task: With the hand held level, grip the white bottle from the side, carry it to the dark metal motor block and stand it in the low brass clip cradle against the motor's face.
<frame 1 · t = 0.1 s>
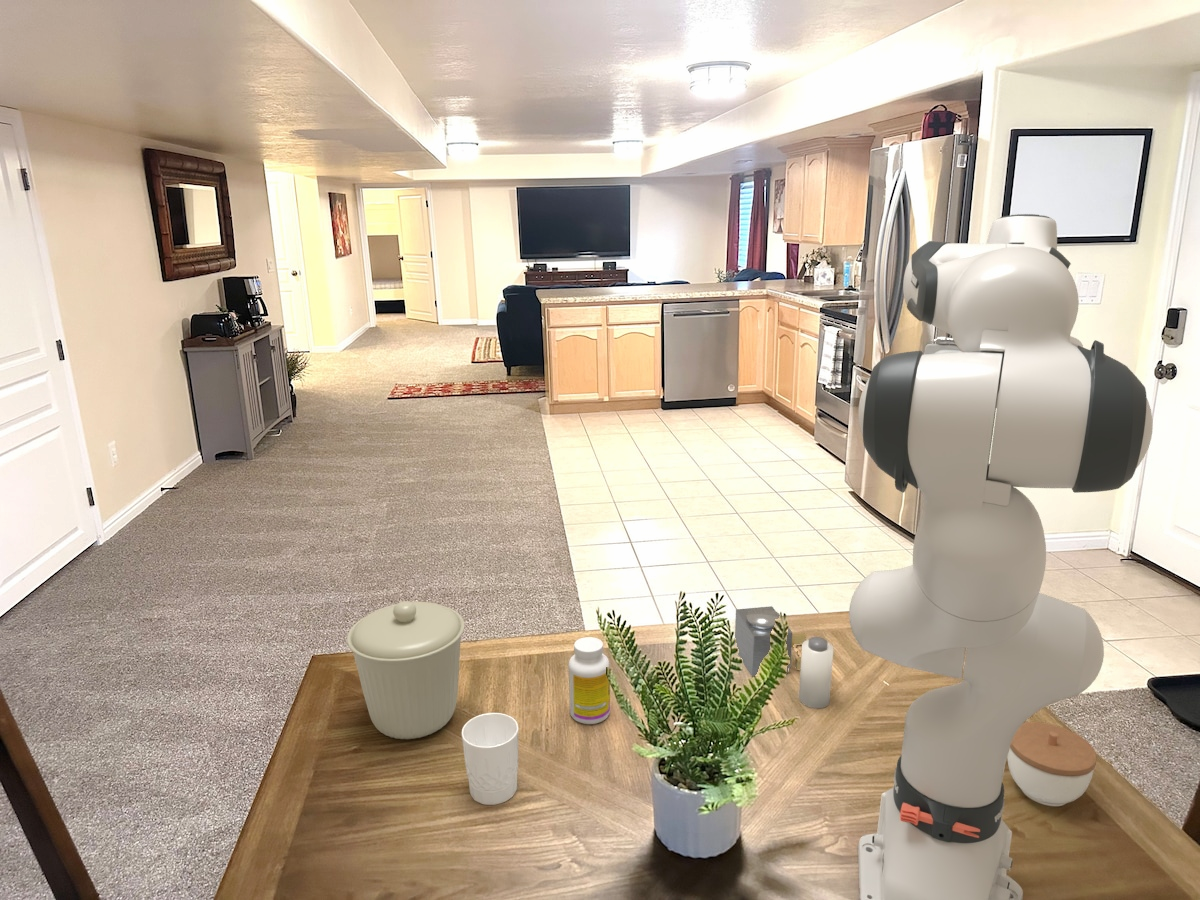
hand: (994, 438, 112), 48 cm above the table, tool pointing down, fingers open, 8 cm apart
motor: (777, 658, 147), on the table
white cup: (493, 790, 115), on the table
supplement bottle: (590, 714, 132), on the table
canister: (414, 720, 131), on the table
lidded jar: (1043, 792, 113), on the table
white bottle: (813, 699, 135), on the table
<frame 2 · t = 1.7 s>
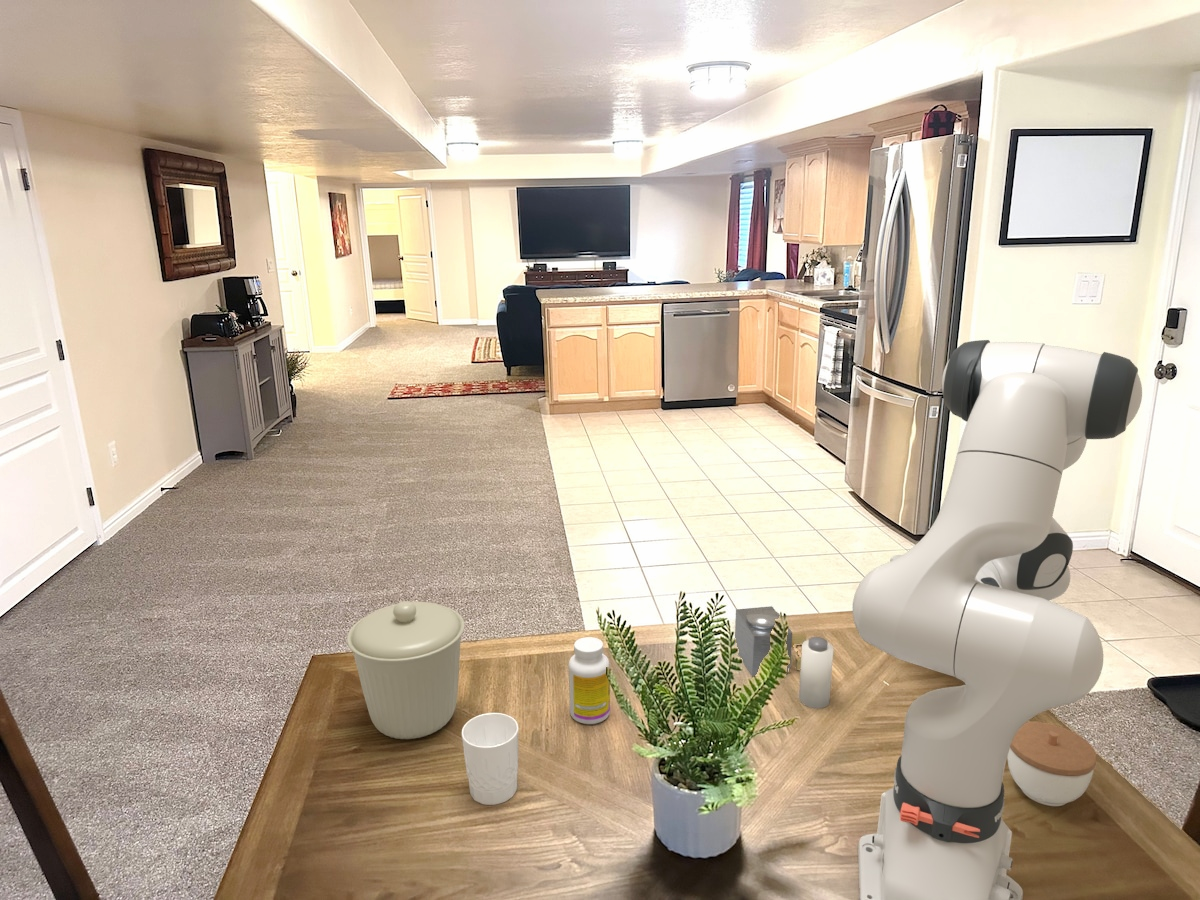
hand: (891, 593, 131), 19 cm above the table, tool horizontal, fingers open, 8 cm apart
nothing on the table moved.
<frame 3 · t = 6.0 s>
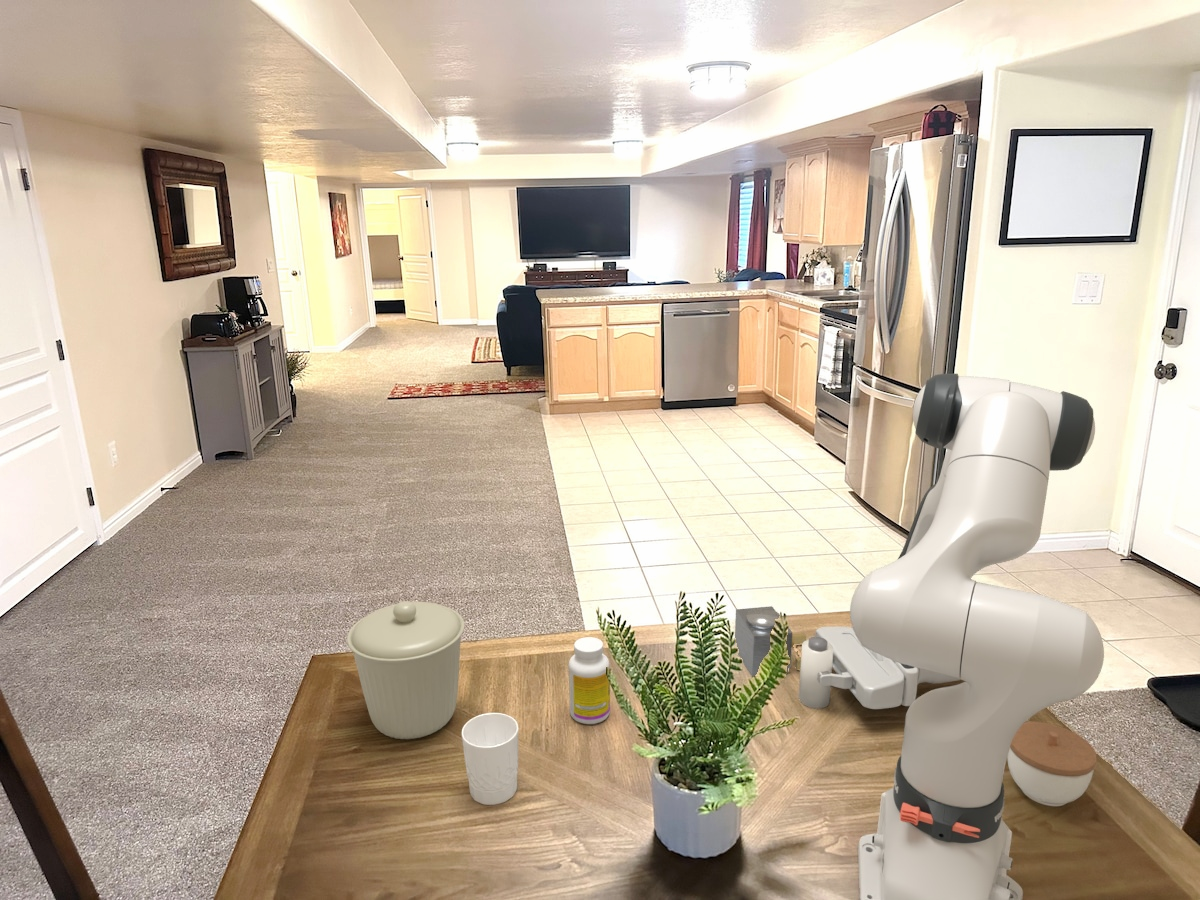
hand: (811, 668, 133), 6 cm above the table, tool horizontal, fingers closed on white bottle, 5 cm apart
white bottle: (813, 699, 135), on the table, touching gripper
everything else where it was.
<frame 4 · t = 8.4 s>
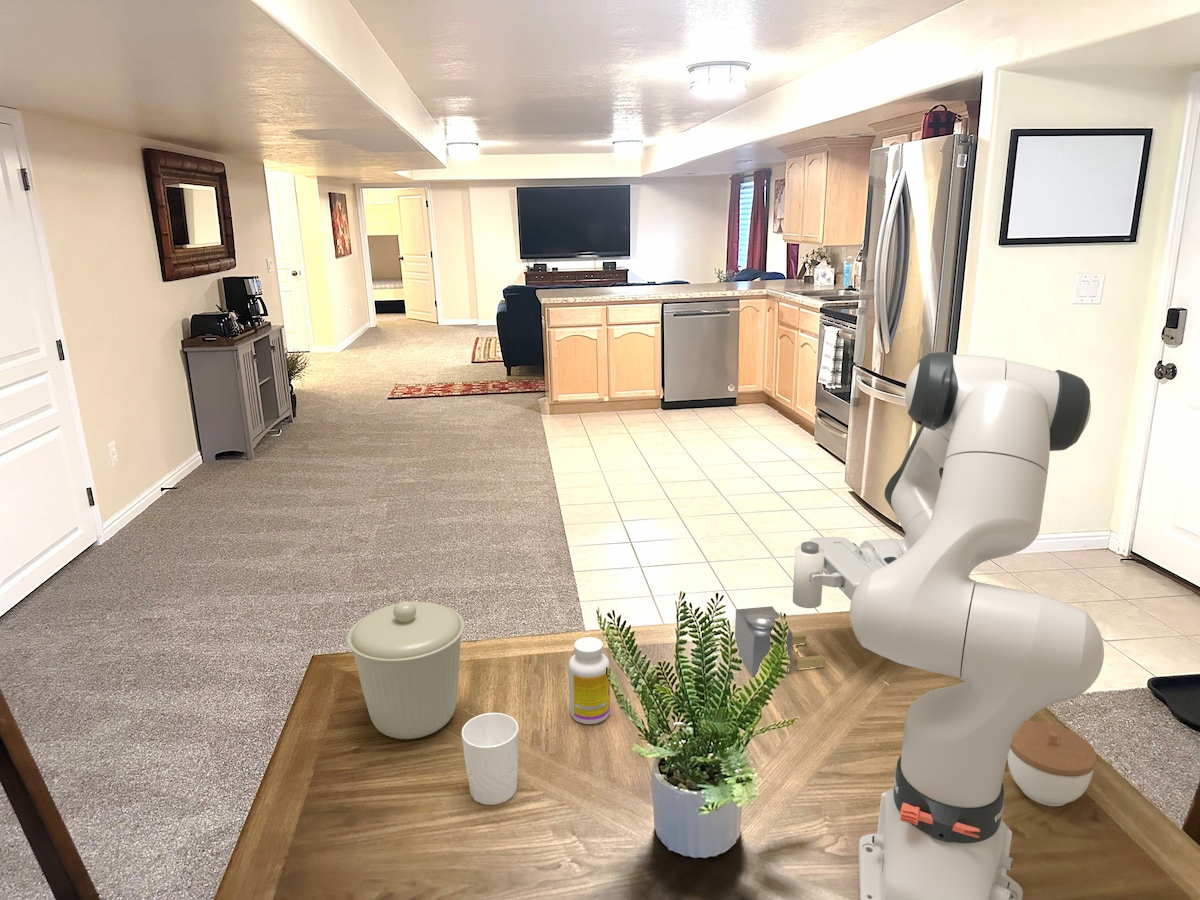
hand: (803, 571, 142), 18 cm above the table, tool horizontal, fingers closed on white bottle, 5 cm apart
white bottle: (806, 601, 144), point 12 cm above the table, touching gripper
everything else where it was.
when the fingers open (7 cm above the table, at t = 10.8 s): white bottle drops 1 cm, resting on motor.
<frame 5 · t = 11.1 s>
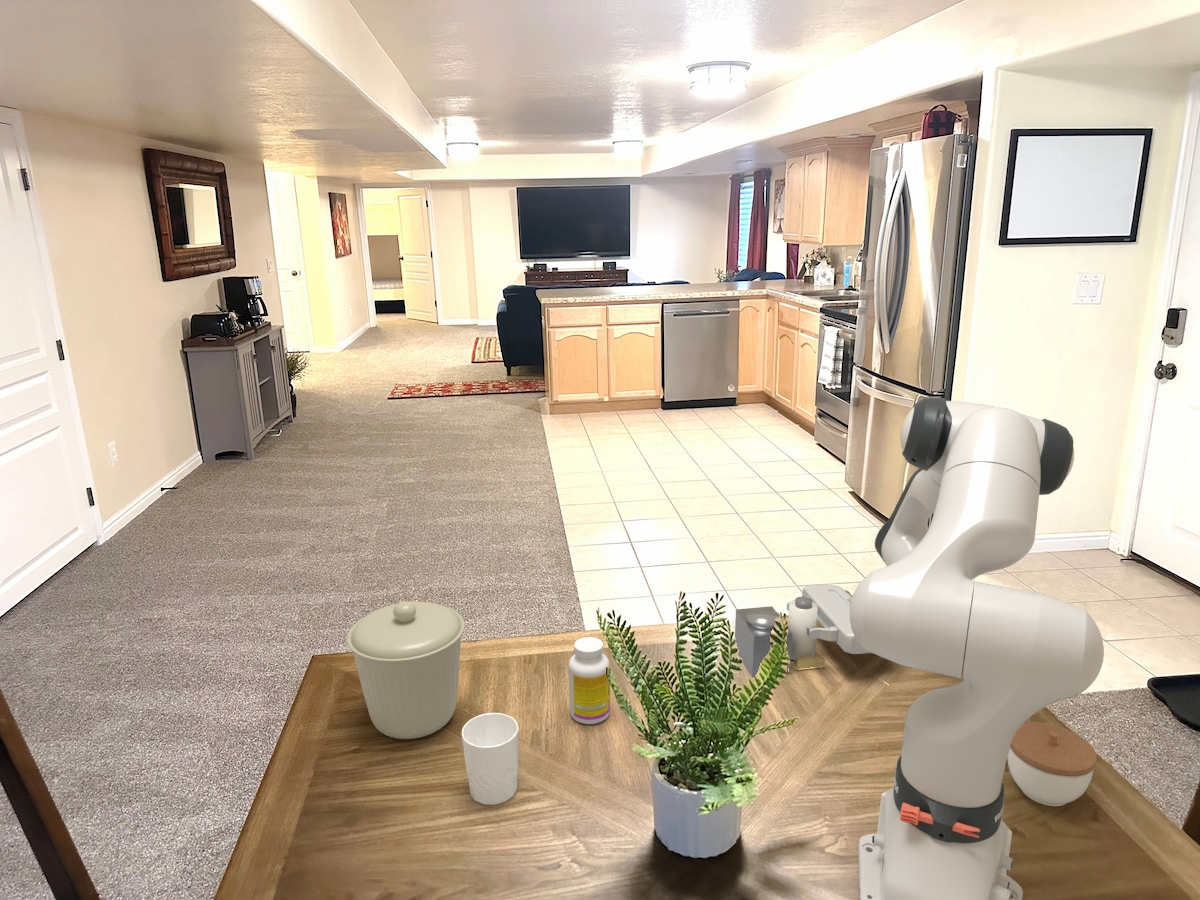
hand: (797, 620, 146), 7 cm above the table, tool horizontal, fingers open, 8 cm apart
white bottle: (800, 654, 148), resting on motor
everything else where it was.
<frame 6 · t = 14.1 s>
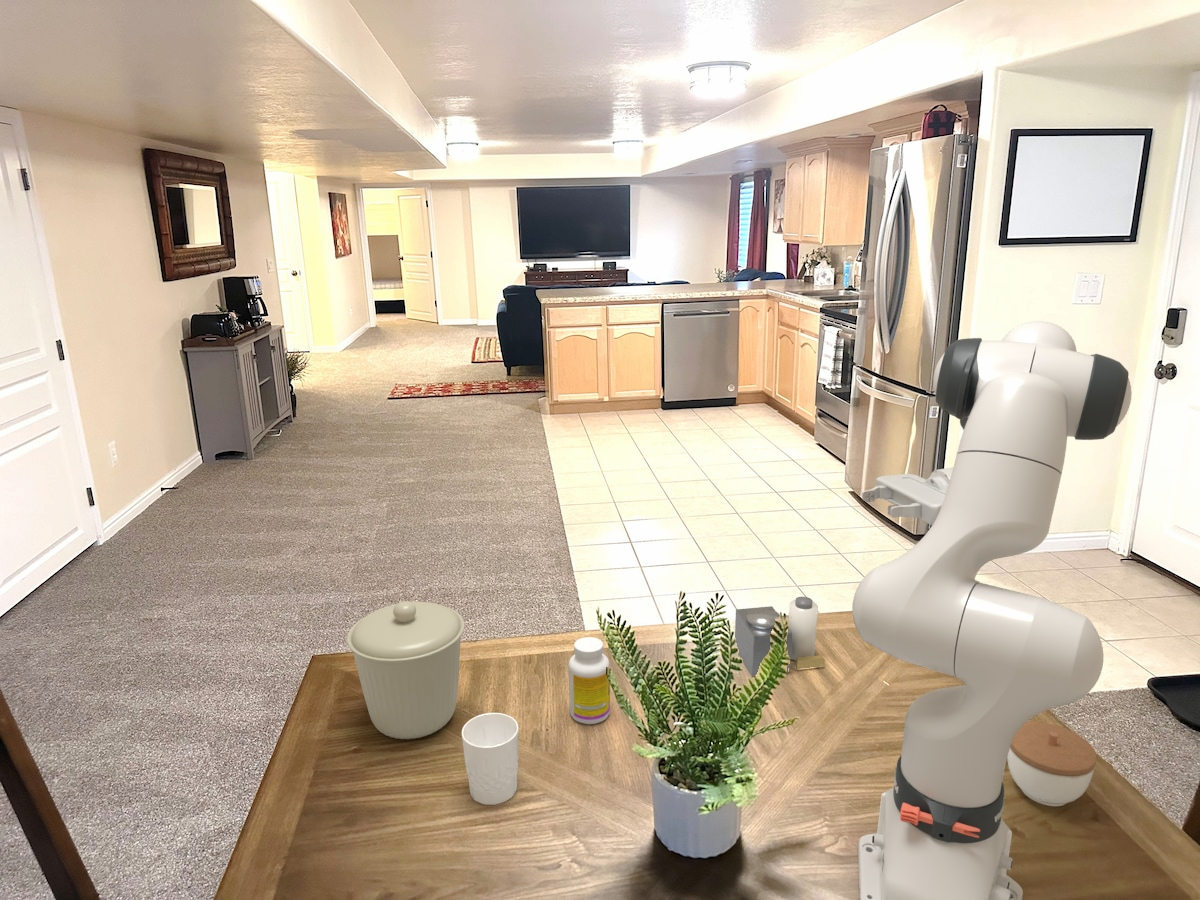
hand: (876, 504, 140), 29 cm above the table, tool horizontal, fingers open, 8 cm apart
nothing on the table moved.
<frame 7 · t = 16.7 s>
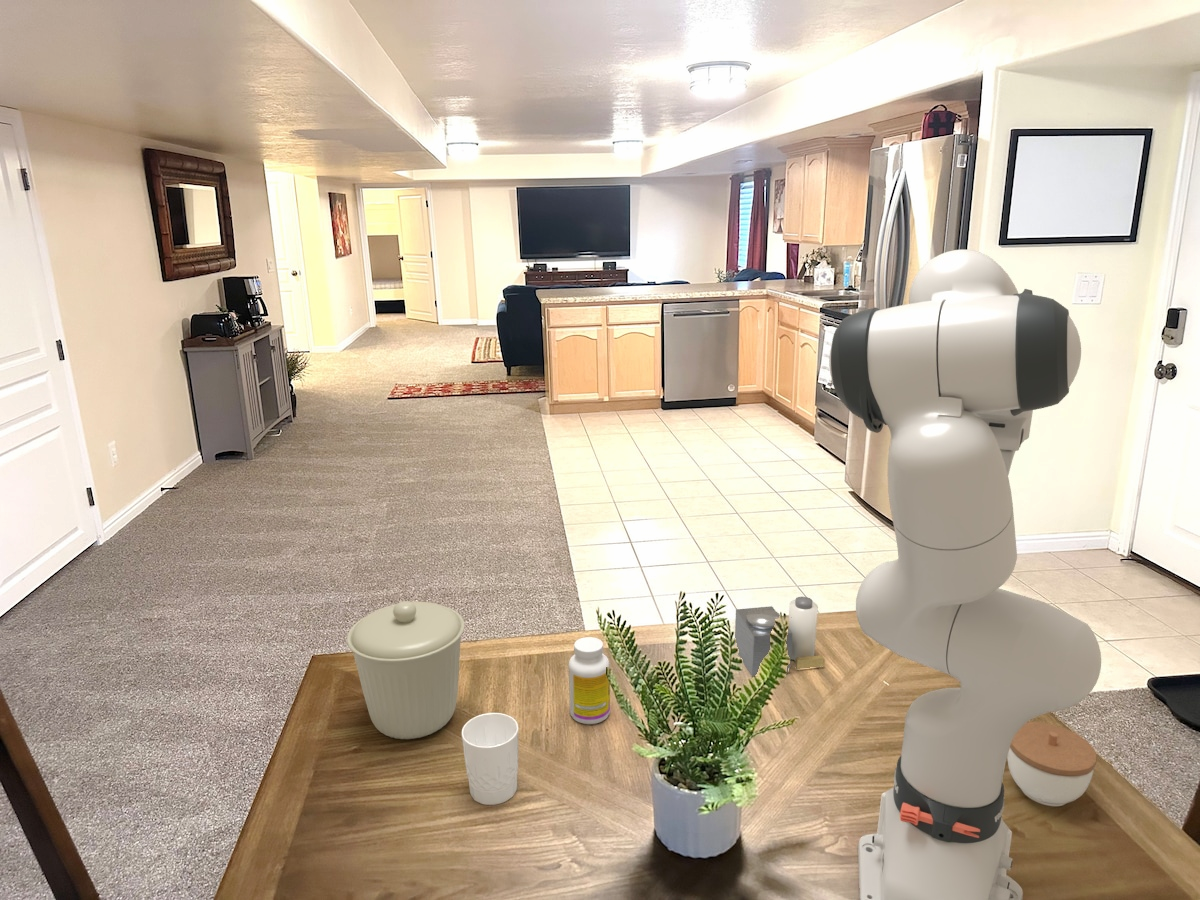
hand: (985, 510, 124), 34 cm above the table, tool pointing down, fingers open, 8 cm apart
nothing on the table moved.
at the end: white bottle 0.2 cm from the target spot on the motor, point 0.3 cm above the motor's base; white bottle tilted 0°; the gripper is holding nothing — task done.
